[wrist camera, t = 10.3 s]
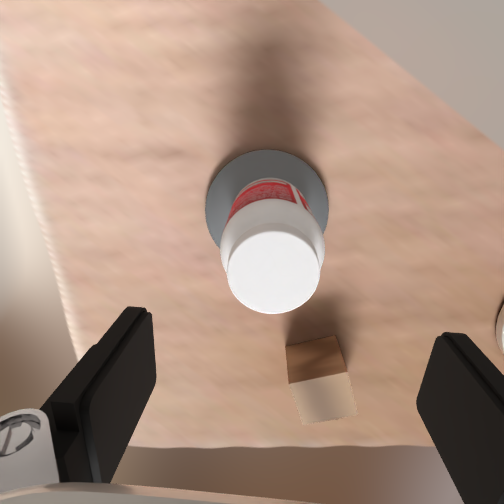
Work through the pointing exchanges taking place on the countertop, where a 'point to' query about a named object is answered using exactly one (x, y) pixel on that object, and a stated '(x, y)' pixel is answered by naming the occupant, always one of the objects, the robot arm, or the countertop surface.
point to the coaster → (257, 168)
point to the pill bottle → (272, 247)
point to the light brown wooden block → (320, 381)
